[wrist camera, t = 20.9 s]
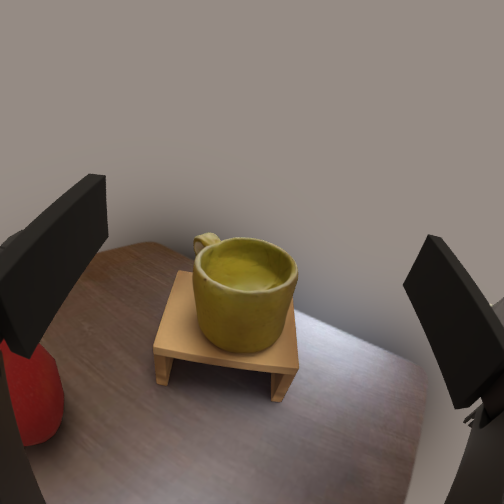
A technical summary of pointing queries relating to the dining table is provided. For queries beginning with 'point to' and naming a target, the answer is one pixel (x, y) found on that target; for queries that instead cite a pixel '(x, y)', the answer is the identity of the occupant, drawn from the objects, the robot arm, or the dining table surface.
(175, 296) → the shelf
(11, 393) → the apple
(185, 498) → the dining table surface
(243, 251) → the mug
